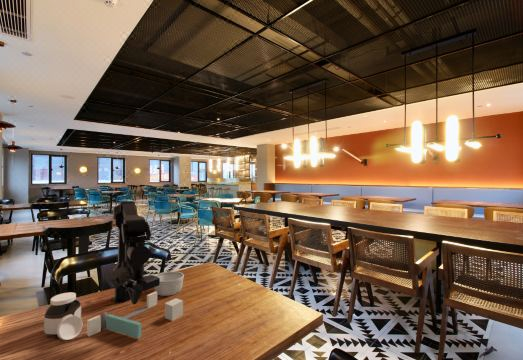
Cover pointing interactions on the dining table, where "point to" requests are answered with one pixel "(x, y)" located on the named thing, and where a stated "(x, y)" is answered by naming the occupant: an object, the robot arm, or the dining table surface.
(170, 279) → the ramekin
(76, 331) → the spread jar
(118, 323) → the long teal plank
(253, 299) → the dining table surface
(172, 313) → the block
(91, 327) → the door frame
